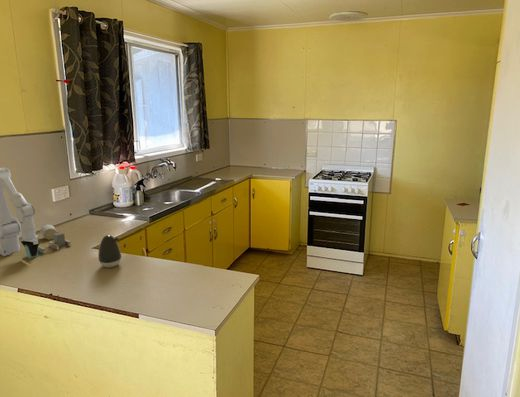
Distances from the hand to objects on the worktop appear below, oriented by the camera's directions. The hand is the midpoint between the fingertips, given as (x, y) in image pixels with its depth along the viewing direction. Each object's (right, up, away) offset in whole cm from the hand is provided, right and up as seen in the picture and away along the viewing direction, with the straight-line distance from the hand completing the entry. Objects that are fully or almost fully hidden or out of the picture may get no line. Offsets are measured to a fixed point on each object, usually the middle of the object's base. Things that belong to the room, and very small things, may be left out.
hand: (32, 254), depth 195 cm
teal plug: (0, -2, 0) cm, 2 cm away
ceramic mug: (-5, +5, +29) cm, 30 cm away
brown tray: (+5, +1, +11) cm, 12 cm away
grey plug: (+7, +3, +14) cm, 16 cm away
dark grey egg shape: (+43, -4, -9) cm, 44 cm away
